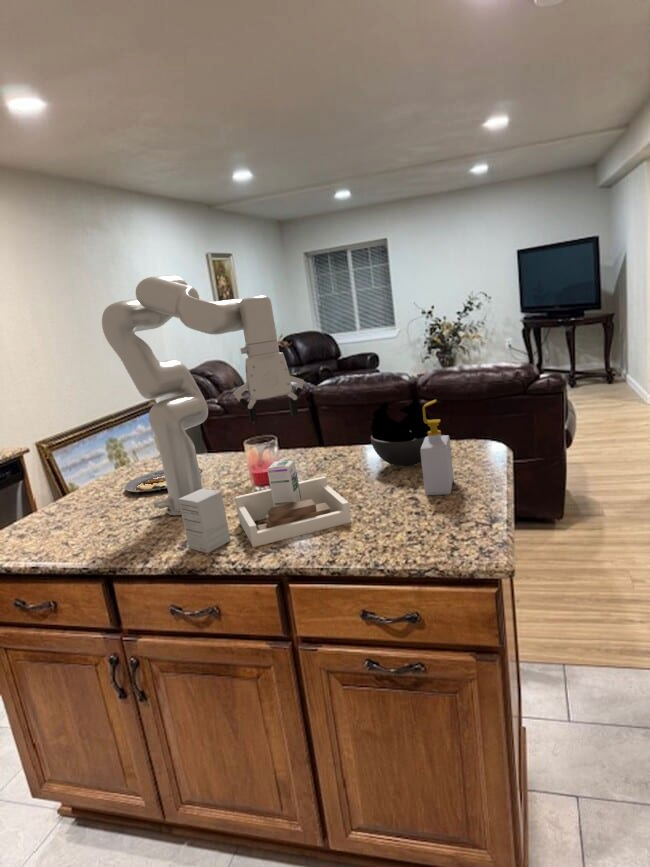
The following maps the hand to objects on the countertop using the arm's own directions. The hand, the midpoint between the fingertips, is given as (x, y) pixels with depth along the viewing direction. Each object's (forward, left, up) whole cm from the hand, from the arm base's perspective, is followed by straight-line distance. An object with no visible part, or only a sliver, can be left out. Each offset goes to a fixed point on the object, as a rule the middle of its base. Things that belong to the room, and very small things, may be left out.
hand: (274, 419), depth 146 cm
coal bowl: (+42, +20, -26) cm, 53 cm away
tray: (0, -3, -26) cm, 26 cm away
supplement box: (-21, -4, -26) cm, 34 cm away
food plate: (-28, +60, -26) cm, 71 cm away
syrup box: (0, 0, -26) cm, 26 cm away
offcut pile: (0, -7, -26) cm, 27 cm away
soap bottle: (+40, -4, -26) cm, 48 cm away
